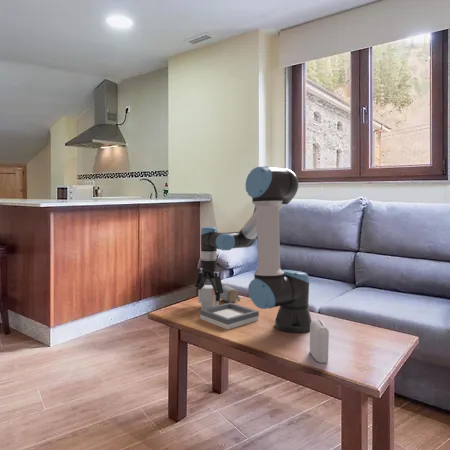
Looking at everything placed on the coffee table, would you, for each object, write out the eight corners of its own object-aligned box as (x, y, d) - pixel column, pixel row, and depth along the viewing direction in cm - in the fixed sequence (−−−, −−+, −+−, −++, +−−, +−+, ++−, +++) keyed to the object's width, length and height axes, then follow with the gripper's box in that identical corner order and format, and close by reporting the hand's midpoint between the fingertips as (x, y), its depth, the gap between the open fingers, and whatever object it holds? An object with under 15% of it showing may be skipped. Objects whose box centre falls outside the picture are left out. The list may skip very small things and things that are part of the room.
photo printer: (308, 350, 133) (308, 315, 132) (320, 350, 133) (321, 315, 132) (316, 363, 123) (317, 325, 122) (329, 363, 123) (330, 325, 122)
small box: (212, 311, 179) (212, 288, 178) (200, 310, 180) (201, 288, 179) (216, 306, 187) (216, 285, 186) (204, 305, 188) (204, 284, 187)
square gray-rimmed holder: (258, 320, 166) (258, 311, 165) (227, 329, 154) (227, 319, 153) (230, 310, 179) (230, 302, 179) (200, 318, 167) (200, 309, 167)
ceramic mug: (227, 304, 190) (228, 289, 189) (218, 300, 196) (218, 286, 196) (244, 301, 196) (244, 286, 196) (234, 298, 203) (234, 283, 202)
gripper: (231, 261, 175) (231, 308, 177) (199, 255, 193) (199, 298, 194) (218, 263, 170) (218, 312, 172) (187, 257, 188) (187, 301, 189)
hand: (208, 305), depth 183 cm, fingers open, 11 cm apart
